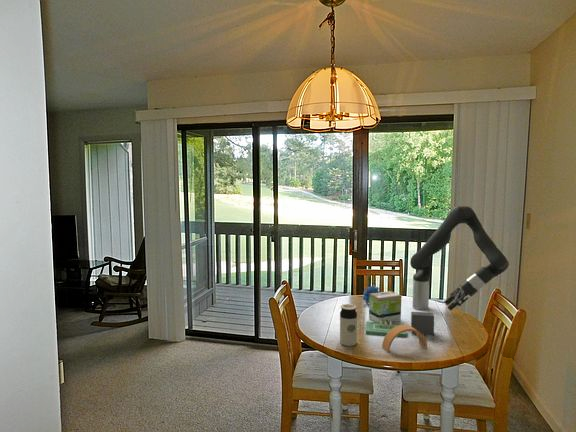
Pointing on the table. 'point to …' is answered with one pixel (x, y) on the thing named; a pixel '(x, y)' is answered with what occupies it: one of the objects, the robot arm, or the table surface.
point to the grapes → (370, 292)
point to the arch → (397, 330)
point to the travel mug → (348, 325)
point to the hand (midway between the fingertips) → (447, 306)
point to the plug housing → (423, 322)
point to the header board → (382, 328)
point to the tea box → (385, 307)
